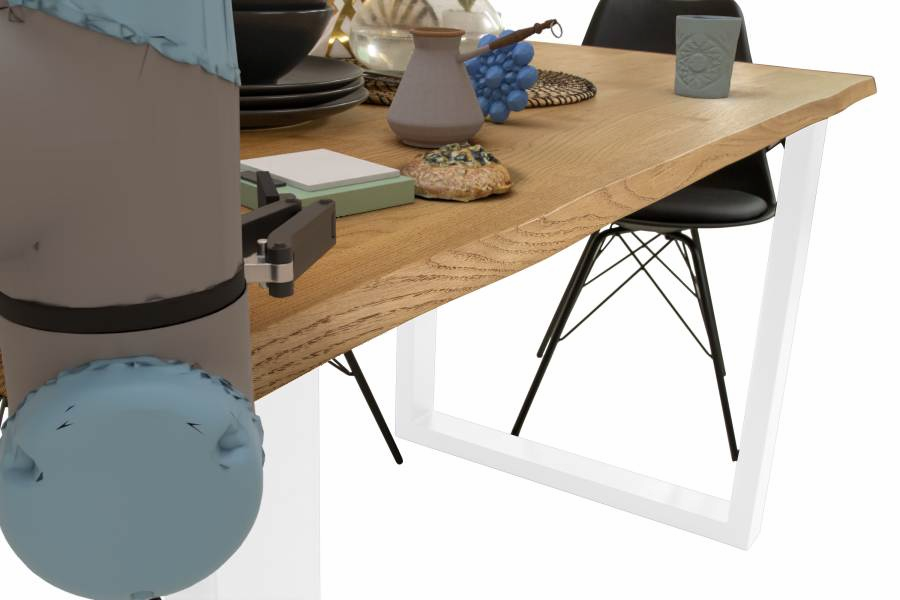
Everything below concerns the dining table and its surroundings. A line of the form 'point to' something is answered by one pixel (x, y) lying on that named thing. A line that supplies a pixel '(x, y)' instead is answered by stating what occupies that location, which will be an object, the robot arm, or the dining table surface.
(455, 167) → the bread roll
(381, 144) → the dining table surface
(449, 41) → the coffee pot
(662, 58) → the dining table surface
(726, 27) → the grey embossed vase
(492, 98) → the grapes
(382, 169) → the scale
